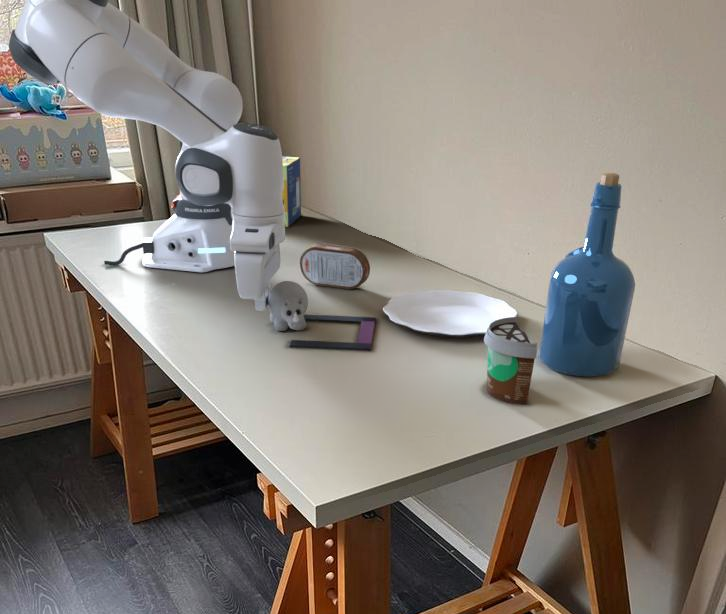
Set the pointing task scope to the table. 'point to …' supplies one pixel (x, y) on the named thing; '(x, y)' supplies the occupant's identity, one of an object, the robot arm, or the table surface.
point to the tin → (334, 266)
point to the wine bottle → (589, 296)
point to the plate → (447, 312)
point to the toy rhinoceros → (288, 306)
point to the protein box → (291, 189)
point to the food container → (509, 361)
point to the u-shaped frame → (362, 342)
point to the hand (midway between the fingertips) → (262, 308)
